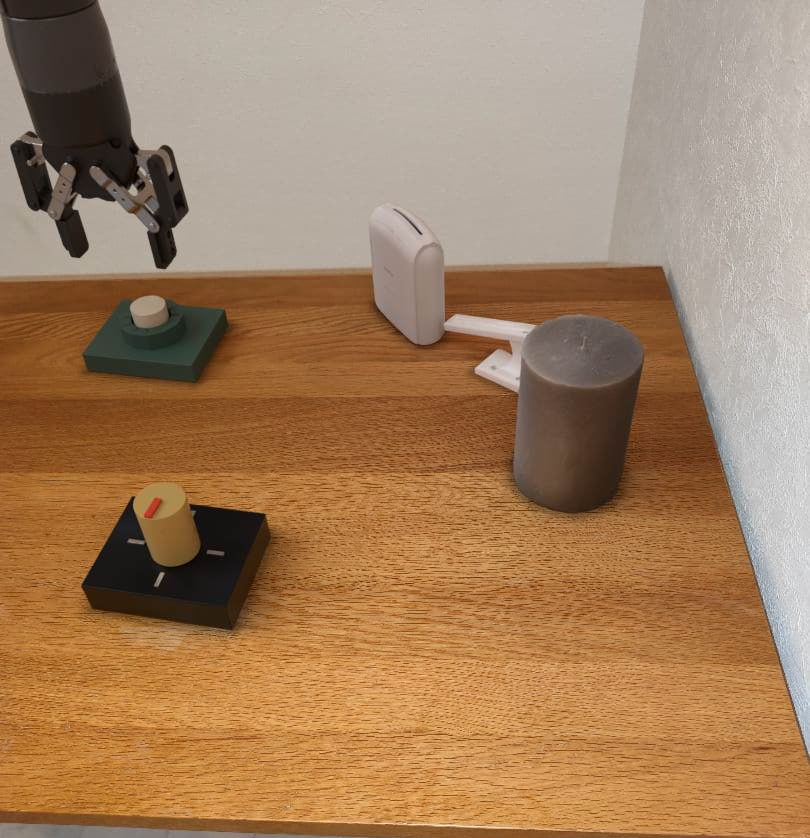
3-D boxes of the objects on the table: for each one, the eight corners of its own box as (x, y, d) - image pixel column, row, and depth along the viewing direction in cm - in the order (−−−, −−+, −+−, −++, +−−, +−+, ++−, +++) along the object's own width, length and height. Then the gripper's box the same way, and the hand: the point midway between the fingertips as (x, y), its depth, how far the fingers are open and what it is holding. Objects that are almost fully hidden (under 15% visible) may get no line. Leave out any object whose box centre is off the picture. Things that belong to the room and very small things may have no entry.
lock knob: (164, 525, 74) (146, 475, 69) (208, 534, 73) (193, 483, 68) (142, 561, 71) (122, 511, 67) (188, 570, 70) (171, 520, 66)
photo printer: (369, 304, 99) (361, 199, 90) (402, 293, 101) (398, 187, 91) (415, 352, 93) (412, 244, 84) (450, 339, 94) (450, 231, 85)
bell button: (128, 328, 92) (124, 313, 90) (142, 308, 94) (138, 293, 93) (161, 331, 91) (157, 316, 90) (174, 311, 93) (170, 296, 92)
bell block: (88, 371, 93) (76, 339, 90) (126, 316, 99) (117, 284, 96) (196, 382, 91) (187, 350, 88) (228, 326, 97) (221, 294, 94)
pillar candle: (637, 502, 78) (669, 362, 66) (529, 522, 77) (543, 382, 65) (598, 430, 84) (621, 291, 73) (498, 447, 83) (506, 309, 72)
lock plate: (91, 608, 72) (79, 584, 70) (140, 519, 78) (131, 494, 76) (232, 630, 70) (225, 606, 68) (271, 537, 76) (265, 511, 74)
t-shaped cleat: (600, 430, 84) (608, 384, 80) (432, 354, 93) (432, 309, 89) (622, 408, 86) (630, 362, 82) (455, 335, 95) (456, 291, 91)
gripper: (173, 57, 69) (212, 247, 82) (13, 44, 72) (73, 229, 84) (128, 96, 65) (176, 291, 77) (-42, 80, 67) (30, 271, 80)
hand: (122, 259), depth 81 cm, fingers open, 8 cm apart
